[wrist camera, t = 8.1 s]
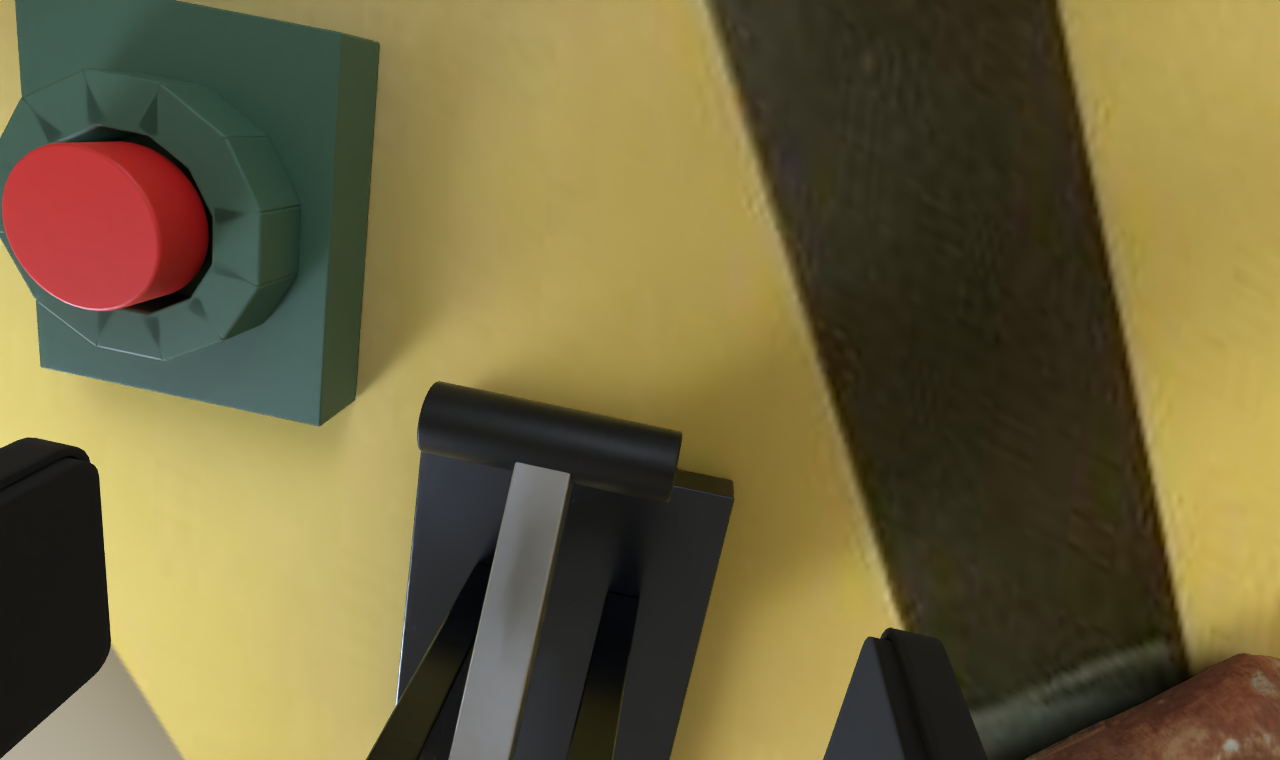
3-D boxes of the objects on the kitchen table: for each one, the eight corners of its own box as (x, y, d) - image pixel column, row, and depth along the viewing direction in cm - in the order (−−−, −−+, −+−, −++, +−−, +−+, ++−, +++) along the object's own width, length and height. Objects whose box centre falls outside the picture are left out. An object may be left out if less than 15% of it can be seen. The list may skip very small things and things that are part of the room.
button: (60, 127, 18) (-8, 127, 16) (210, 157, 18) (158, 160, 16) (69, 280, 19) (6, 294, 17) (210, 309, 19) (161, 327, 17)
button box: (84, -15, 20) (-62, -49, 16) (380, 42, 20) (301, 22, 16) (100, 346, 23) (-20, 388, 20) (355, 400, 23) (284, 453, 19)
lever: (453, 386, 17) (420, 374, 14) (680, 434, 17) (685, 429, 14) (315, 976, 16) (254, 1069, 13) (558, 1033, 15) (541, 1139, 13)
